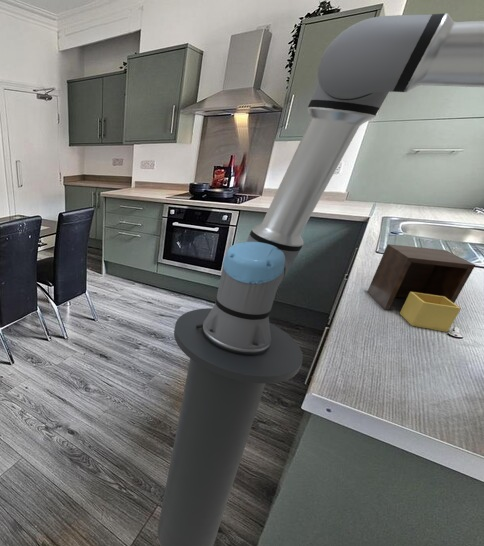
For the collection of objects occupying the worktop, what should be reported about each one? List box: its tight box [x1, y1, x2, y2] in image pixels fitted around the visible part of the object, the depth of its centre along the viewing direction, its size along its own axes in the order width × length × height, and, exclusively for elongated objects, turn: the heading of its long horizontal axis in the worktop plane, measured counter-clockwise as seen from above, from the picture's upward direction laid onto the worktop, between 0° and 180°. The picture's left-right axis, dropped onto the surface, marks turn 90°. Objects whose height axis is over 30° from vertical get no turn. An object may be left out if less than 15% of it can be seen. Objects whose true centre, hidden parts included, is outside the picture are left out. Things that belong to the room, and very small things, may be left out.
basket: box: [399, 292, 462, 333], centre depth 82 cm, size 7×7×7 cm
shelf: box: [367, 243, 476, 311], centre depth 90 cm, size 13×13×16 cm
